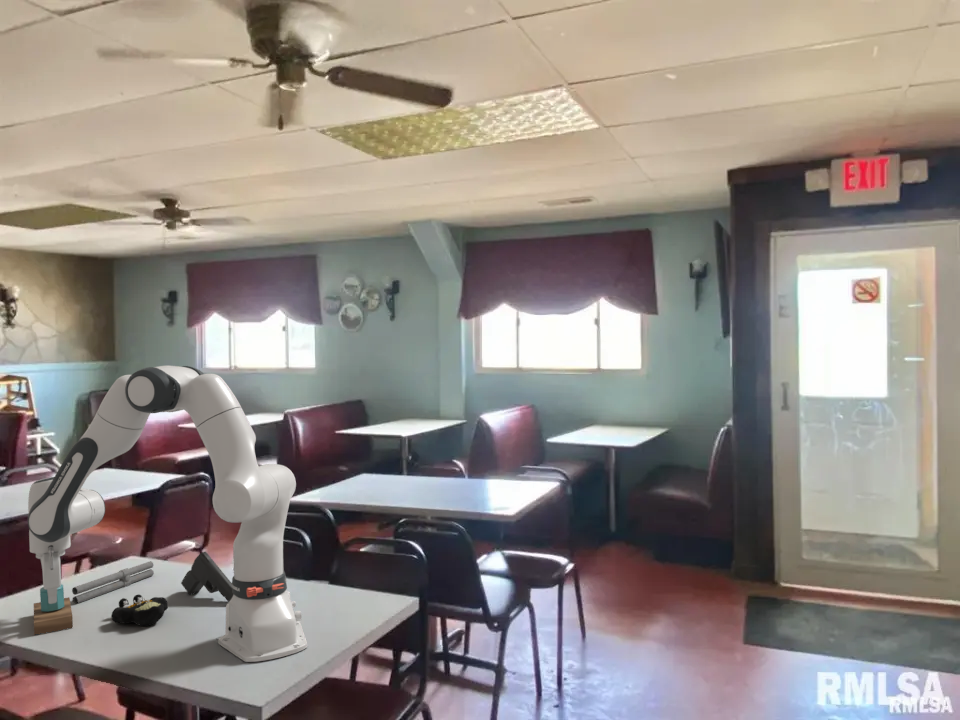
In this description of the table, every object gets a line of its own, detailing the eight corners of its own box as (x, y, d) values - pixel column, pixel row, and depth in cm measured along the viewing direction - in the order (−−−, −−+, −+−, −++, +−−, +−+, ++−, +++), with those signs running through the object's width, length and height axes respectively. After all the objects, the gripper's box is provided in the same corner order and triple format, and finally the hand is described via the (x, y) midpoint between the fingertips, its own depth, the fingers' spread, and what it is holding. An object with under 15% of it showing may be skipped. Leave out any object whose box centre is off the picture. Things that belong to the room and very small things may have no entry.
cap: (64, 608, 182) (63, 588, 182) (41, 612, 180) (40, 592, 179) (64, 602, 186) (62, 582, 186) (41, 606, 184) (40, 586, 184)
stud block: (72, 627, 178) (71, 595, 178) (34, 635, 174) (33, 601, 174) (69, 608, 192) (68, 578, 192) (33, 615, 188) (32, 584, 188)
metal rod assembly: (78, 605, 195) (78, 587, 195) (71, 604, 196) (70, 585, 196) (156, 576, 219) (155, 560, 219) (149, 575, 220) (148, 559, 220)
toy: (152, 590, 192) (177, 585, 183) (157, 619, 191) (182, 616, 181) (102, 603, 183) (125, 599, 173) (106, 634, 182) (130, 632, 172)
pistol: (225, 626, 198) (243, 592, 194) (215, 631, 195) (233, 596, 191) (189, 580, 206) (205, 546, 202) (178, 583, 203) (195, 549, 199)
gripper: (66, 549, 175) (68, 606, 176) (63, 531, 193) (65, 584, 193) (35, 553, 172) (37, 612, 172) (35, 535, 190) (37, 588, 190)
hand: (52, 597), depth 183 cm, fingers open, 8 cm apart
